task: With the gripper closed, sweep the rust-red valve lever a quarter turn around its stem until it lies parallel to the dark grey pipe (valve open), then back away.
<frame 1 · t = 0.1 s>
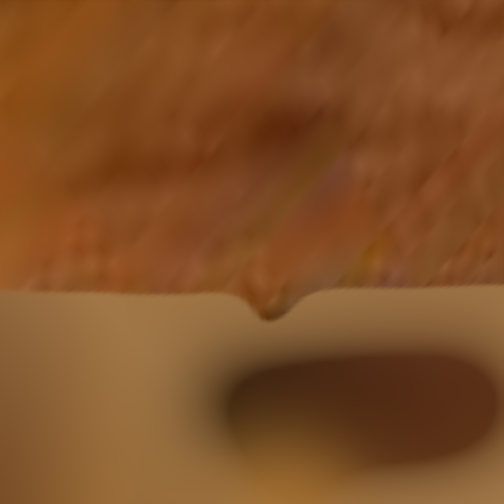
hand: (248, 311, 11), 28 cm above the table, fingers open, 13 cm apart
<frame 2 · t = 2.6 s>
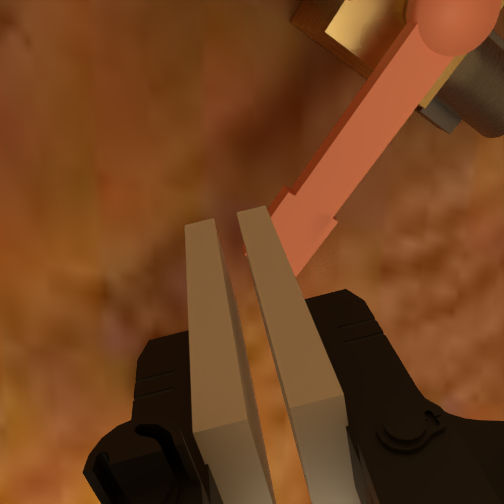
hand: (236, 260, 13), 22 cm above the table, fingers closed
valve pipe: (364, 3, 31), on the table
lever: (362, 134, 23), point 11 cm above the table, hinge at 0.0°
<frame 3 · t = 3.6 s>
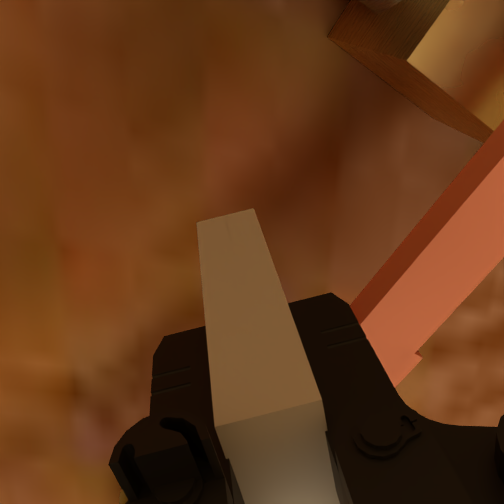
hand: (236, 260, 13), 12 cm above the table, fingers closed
valve pipe: (432, 11, 22), on the table
lever: (470, 228, 14), point 11 cm above the table, hinge at 0.0°
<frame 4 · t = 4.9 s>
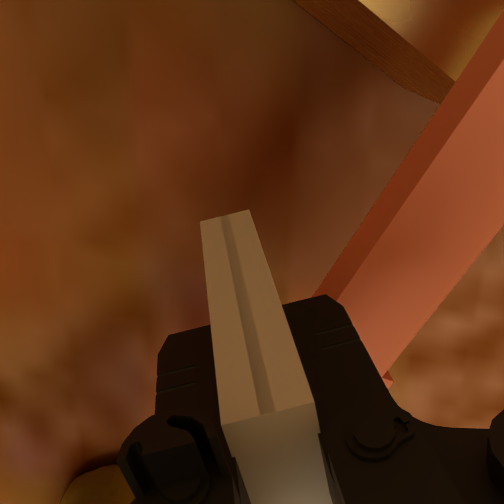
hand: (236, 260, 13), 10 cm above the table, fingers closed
lever: (435, 216, 11), point 11 cm above the table, hinge at 5.8°, touching gripper
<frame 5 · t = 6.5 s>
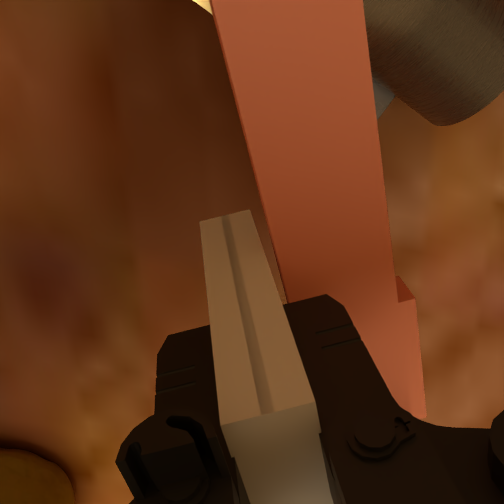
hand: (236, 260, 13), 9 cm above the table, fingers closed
lever: (309, 136, 9), point 11 cm above the table, hinge at 47.6°, touching gripper
mug: (3, 503, 30), on the table
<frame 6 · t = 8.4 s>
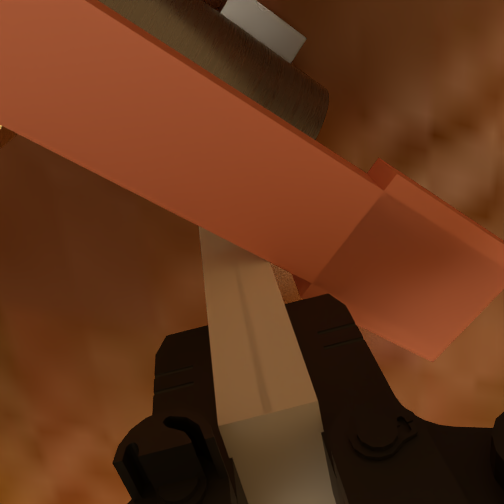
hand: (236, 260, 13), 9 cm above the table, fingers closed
lever: (162, 126, 9), point 11 cm above the table, hinge at 90.6°, touching gripper
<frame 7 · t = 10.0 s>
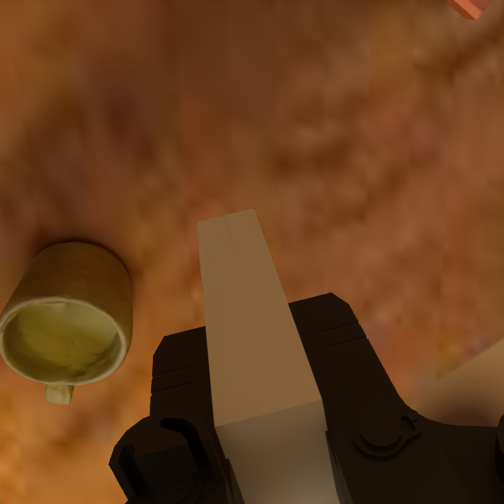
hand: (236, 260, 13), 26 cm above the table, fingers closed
mug: (79, 298, 42), on the table
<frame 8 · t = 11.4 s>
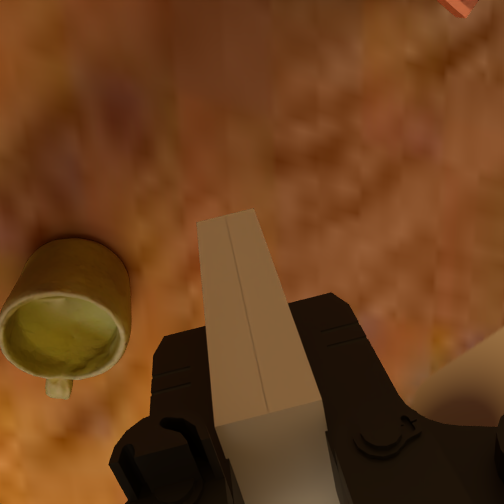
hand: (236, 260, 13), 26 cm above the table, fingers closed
mug: (77, 294, 43), on the table
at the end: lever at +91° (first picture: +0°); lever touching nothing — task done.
